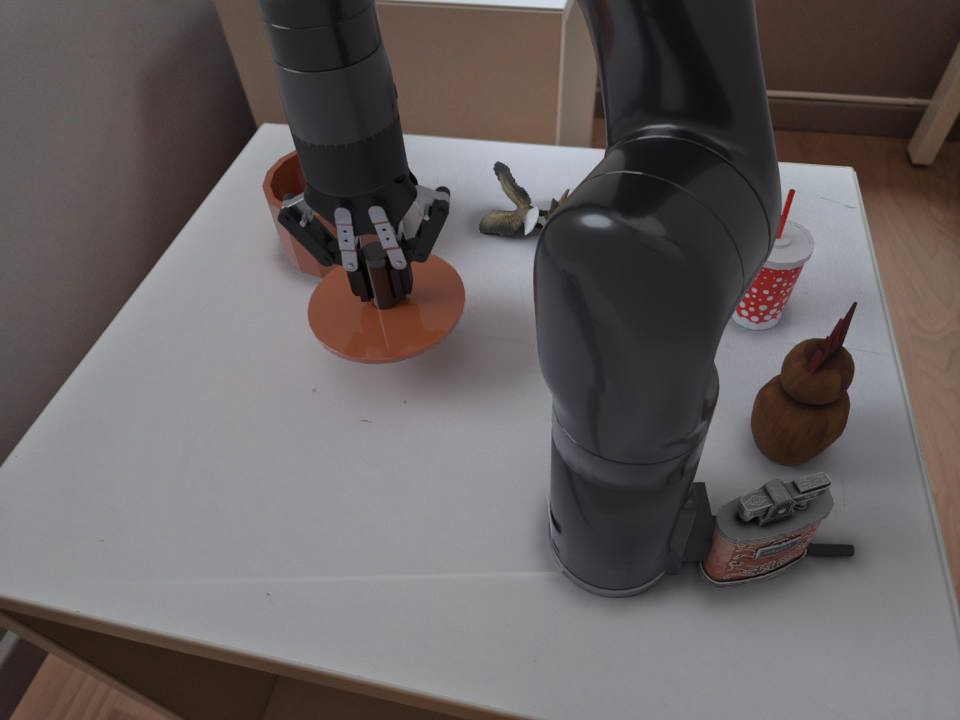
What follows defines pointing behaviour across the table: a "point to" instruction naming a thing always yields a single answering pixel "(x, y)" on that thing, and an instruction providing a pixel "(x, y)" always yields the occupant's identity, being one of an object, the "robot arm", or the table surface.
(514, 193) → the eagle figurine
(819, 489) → the lighter
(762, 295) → the beverage cup
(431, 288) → the lid
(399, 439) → the table surface
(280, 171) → the pot
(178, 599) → the table surface
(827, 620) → the table surface
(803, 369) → the wooden figurine
